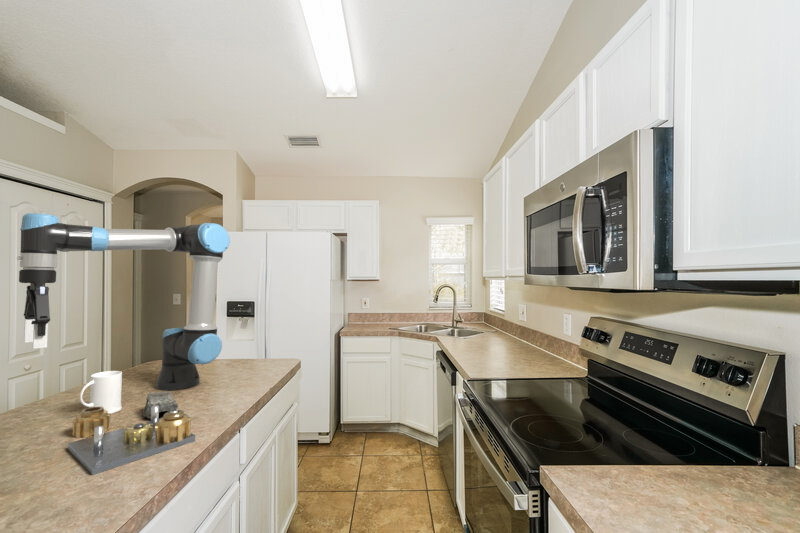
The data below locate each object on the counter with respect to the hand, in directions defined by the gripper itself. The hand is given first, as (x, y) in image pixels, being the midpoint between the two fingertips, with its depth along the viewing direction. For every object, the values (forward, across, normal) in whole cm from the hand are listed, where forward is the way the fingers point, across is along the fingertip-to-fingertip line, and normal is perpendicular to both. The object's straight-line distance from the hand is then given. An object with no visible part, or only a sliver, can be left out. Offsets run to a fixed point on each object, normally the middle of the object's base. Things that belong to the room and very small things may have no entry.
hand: (35, 344), depth 105 cm
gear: (+24, +11, +11) cm, 29 cm away
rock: (+25, +11, +28) cm, 39 cm away
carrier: (+24, +30, +15) cm, 42 cm away
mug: (+25, -5, +16) cm, 30 cm away
